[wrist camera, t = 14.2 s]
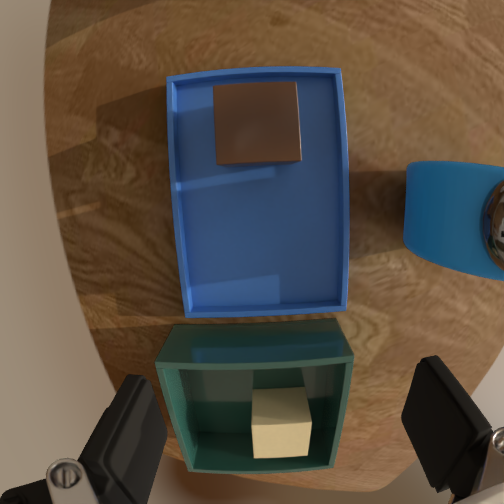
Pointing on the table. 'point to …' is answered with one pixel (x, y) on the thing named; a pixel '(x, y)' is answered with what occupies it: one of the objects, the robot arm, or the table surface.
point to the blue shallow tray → (260, 203)
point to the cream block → (280, 422)
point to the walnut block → (256, 124)
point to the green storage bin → (242, 384)
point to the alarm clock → (456, 216)
